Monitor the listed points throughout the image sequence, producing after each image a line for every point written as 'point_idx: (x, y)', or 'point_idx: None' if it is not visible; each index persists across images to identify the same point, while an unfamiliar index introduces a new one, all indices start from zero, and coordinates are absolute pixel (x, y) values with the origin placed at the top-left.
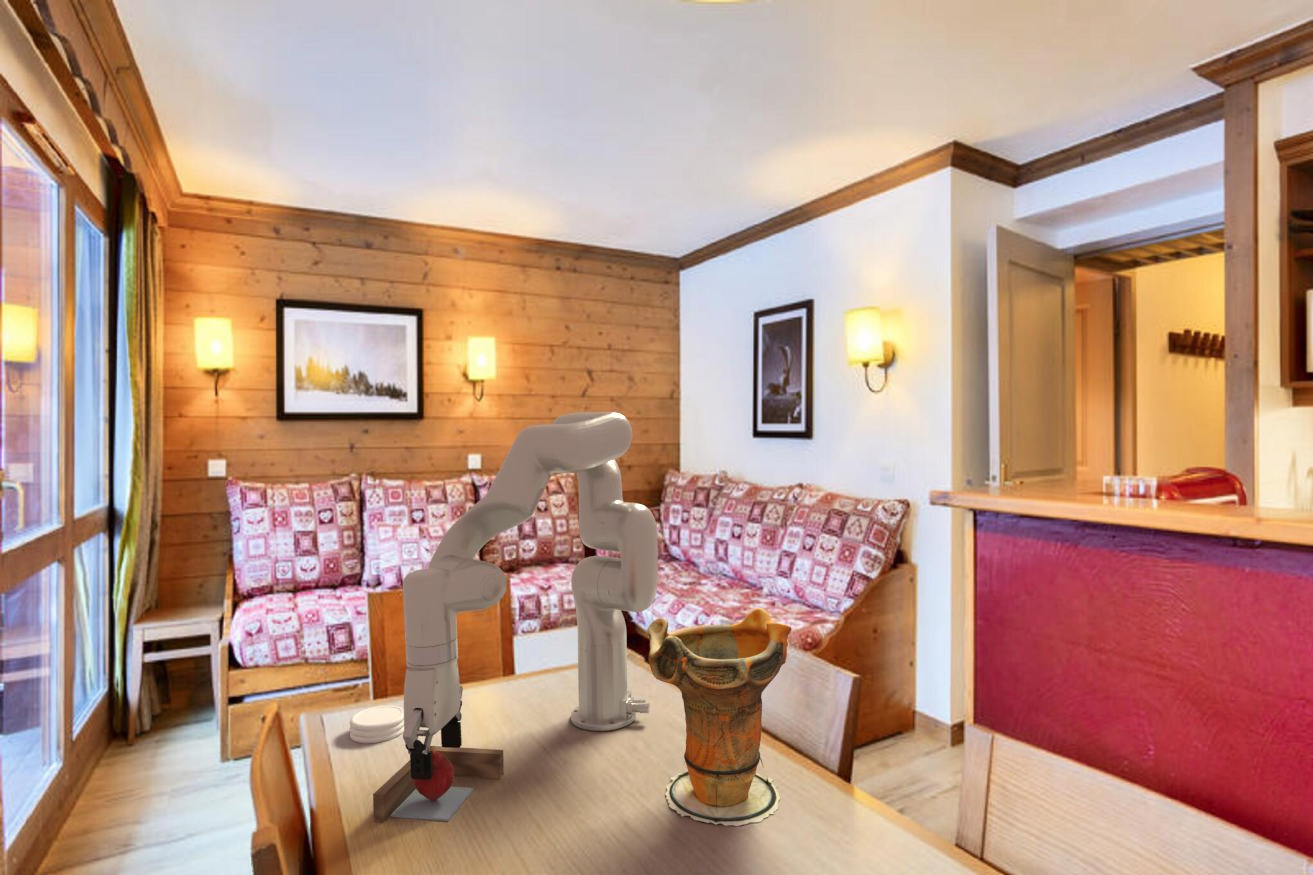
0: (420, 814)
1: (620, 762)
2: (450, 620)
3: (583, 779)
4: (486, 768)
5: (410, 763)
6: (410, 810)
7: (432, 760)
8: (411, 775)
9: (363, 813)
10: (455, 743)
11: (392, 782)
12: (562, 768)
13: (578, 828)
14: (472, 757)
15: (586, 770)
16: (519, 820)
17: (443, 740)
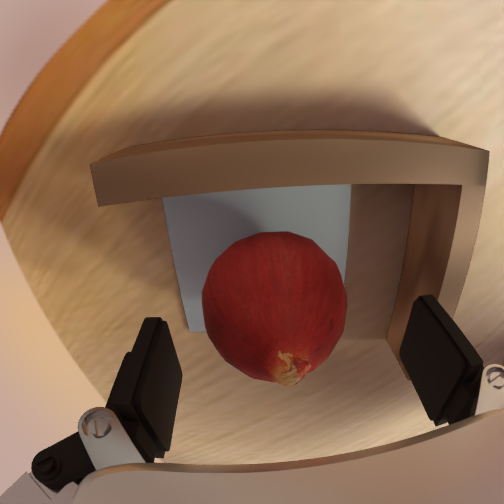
0: (186, 263)
1: (407, 434)
2: None
3: (367, 429)
4: (402, 328)
5: (128, 359)
6: (196, 225)
7: (246, 368)
8: (144, 322)
9: (159, 84)
10: (408, 354)
11: (190, 177)
12: (407, 398)
13: (233, 458)
14: None
15: (394, 421)
16: (233, 417)
17: (423, 323)
